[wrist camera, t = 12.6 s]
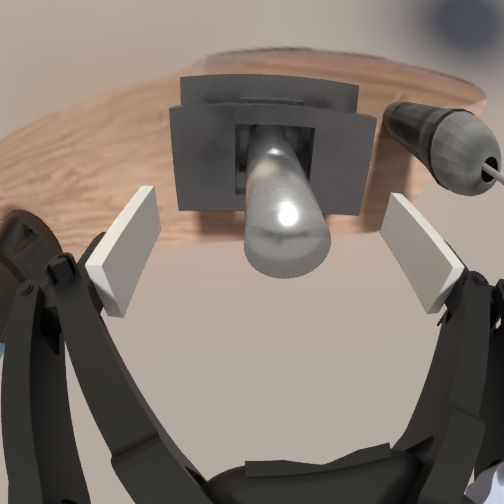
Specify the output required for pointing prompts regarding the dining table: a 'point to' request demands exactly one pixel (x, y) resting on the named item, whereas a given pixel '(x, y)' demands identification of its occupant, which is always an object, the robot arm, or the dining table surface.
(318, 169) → the grey holder stand
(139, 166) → the dining table surface
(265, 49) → the dining table surface
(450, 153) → the beverage cup
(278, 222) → the silver metal cylinder
